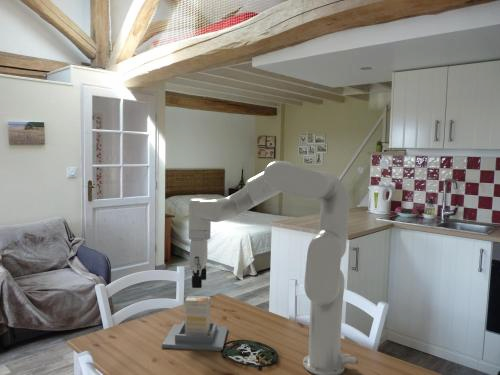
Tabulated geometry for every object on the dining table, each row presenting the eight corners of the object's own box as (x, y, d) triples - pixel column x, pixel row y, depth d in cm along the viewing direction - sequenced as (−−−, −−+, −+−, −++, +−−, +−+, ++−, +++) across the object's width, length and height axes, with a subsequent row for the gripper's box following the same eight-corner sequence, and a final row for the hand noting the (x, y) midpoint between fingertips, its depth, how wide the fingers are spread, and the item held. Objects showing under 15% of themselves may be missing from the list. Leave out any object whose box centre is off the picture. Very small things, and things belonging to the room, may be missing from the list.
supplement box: (210, 332, 142) (211, 296, 141) (207, 338, 137) (208, 301, 137) (187, 331, 143) (187, 295, 142) (184, 337, 138) (184, 299, 137)
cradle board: (227, 329, 148) (227, 320, 148) (222, 351, 131) (222, 340, 131) (174, 327, 149) (174, 317, 149) (161, 347, 132) (162, 337, 132)
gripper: (193, 230, 147) (193, 276, 148) (183, 238, 130) (183, 290, 130) (213, 230, 146) (213, 277, 147) (206, 239, 129) (206, 291, 130)
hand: (199, 283), depth 139 cm, fingers open, 9 cm apart
